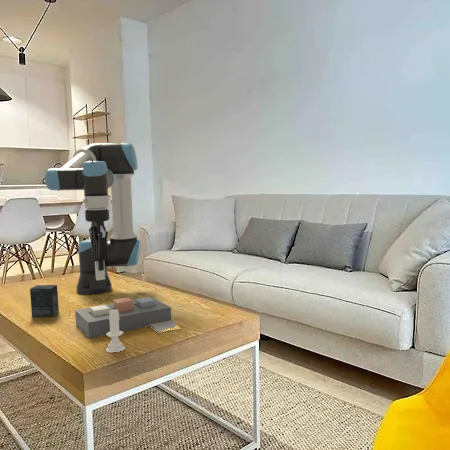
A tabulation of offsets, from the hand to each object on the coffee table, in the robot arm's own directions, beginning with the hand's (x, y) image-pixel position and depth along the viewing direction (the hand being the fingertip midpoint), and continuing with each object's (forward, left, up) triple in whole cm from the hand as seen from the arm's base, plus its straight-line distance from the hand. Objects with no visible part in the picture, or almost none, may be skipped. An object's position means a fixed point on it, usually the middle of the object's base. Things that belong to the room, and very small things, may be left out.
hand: (100, 279), depth 146 cm
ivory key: (+2, -1, -13) cm, 13 cm away
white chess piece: (+24, -4, -16) cm, 29 cm away
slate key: (+2, +15, -13) cm, 20 cm away
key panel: (+2, +7, -16) cm, 17 cm away
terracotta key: (+2, +7, -12) cm, 14 cm away
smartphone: (+12, +17, -16) cm, 26 cm away
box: (-24, -14, -16) cm, 32 cm away
